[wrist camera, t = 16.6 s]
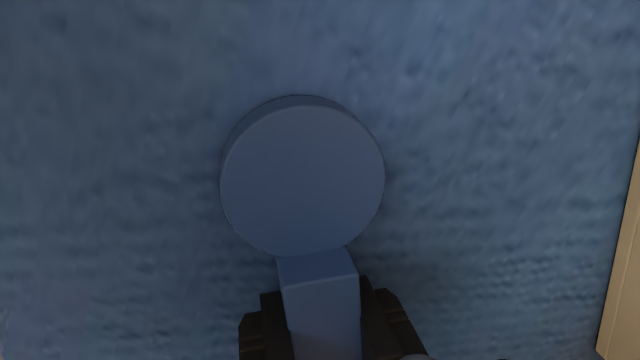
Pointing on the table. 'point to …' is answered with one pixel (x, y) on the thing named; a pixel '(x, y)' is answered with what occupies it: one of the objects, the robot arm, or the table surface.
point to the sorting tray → (624, 284)
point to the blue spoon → (306, 211)
